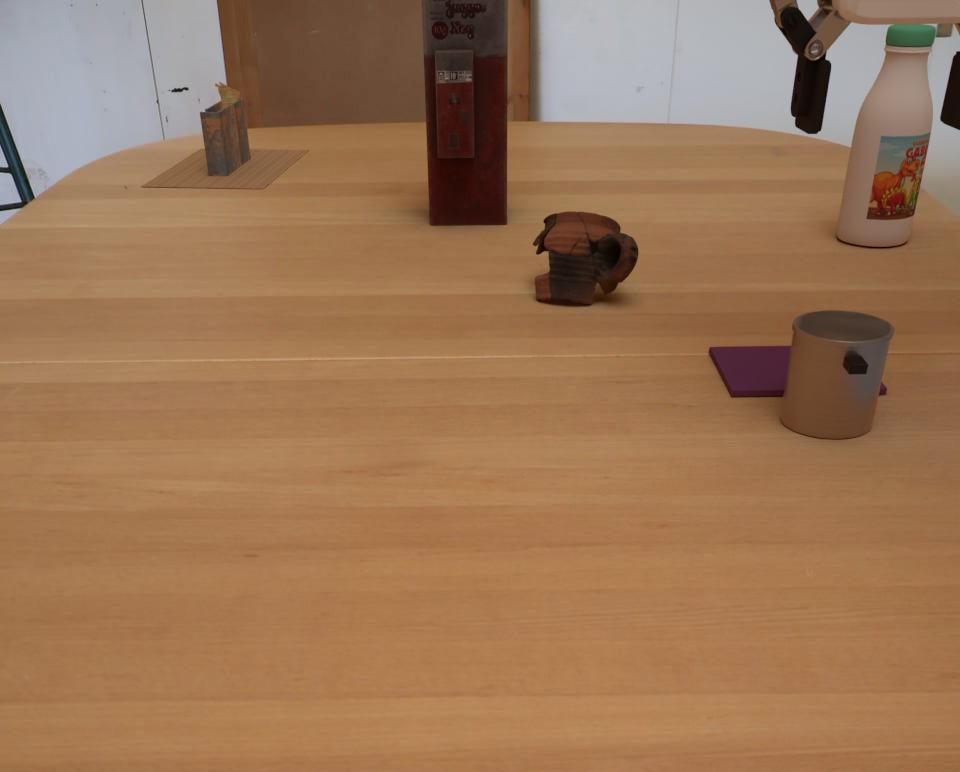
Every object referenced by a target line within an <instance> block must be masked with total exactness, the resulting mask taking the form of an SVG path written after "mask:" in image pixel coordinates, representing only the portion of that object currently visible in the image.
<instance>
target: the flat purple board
mask: <svg viewBox="0 0 960 772" xmlns="http://www.w3.org/2000/svg"><path fill="white" fill-rule="evenodd" d="M708 347H709V349H708V353H709V355H710V358H711V359H712V361H713V363H714V365H715V367H716V369H717V372H718V373H719V375H720V377H721V379H722V381H723V383H724V385H725V387H726V389H727V390H728V392H729V394H730V396H731V397H732V398H733V397H734V398H737V397H738V398H739V397H783V395H784V388H785V382H786V376H787V369H788V363H789V357H790V350H791V345H743V346H742V345H739V346H738V345H737V346H734V345H733V346H708ZM887 392H888V387H887V386H886V385H885V383H884V382H883V381H882V382H881V386H880V391H879V395H887Z"/></svg>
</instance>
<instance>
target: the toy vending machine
mask: <svg viewBox="0 0 960 772" xmlns="http://www.w3.org/2000/svg"><path fill="white" fill-rule="evenodd" d="M421 12H422V13H421V16H422V19H421V20H422V21H421V22H422V42H423V43H422V44H423V45H422V46H423V72H424V102H425V105H424V106H425V129H426V130H425V131H426V134H425V135H426V157H427V158H426V159H427V161H426V162H427V184H428V185H427V187H428V213H429V214H428V215H429V226H478V225H479V226H493V225H494V226H497V225H501V226H503V225H508V77H509V76H508V70H509V69H508V68H509V67H508V65H509V64H508V61H509V59H508V58H509V57H508V55H509V54H508V53H509V52H508V51H509V50H508V47H509V46H508V45H509V43H508V41H509V40H508V38H509V32H508V31H509V30H508V28H509V26H508V25H509V0H421Z"/></svg>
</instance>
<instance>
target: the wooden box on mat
mask: <svg viewBox="0 0 960 772" xmlns="http://www.w3.org/2000/svg"><path fill="white" fill-rule="evenodd" d="M218 83H219V84H218ZM218 83H214V86H215V88H217V91H218V94H219V97H220V100H219V101H218V102H216V103H215V104H213V105H211V106H209V107H207V108H205V109H204V111H199V115H200V116H199V117H200V124H201V131H202V132H201V133H202V140H203V144H204V148H200V149H198V150H196V151H195V152H193V153H192V154H190V155H189V156H187V157H186V158H184V159H182V160H181V161H179V162H177V164H176V163H175V164H174V165H173V166H171V167H170V168H168V169H166V170H165V171H164V172H162V173H160V174H159V175H157V176H155V177H154V178H152V179H151V180H150V181H147V182H145V184H143V185H141V187H142V188H185V189H186V188H187V189H188V188H192V189H193V188H194V189H243V190H244V189H245V190H246V189H247V190H248V189H249V190H253V189H254V190H264V189H265V188H266V187H267V186H269V185H270V184H271V183H272V182H273V181H275V180H276V179H277V178H278V177H279V176H280V175H281V174H283V173H284V172H285V171H286V170H288V169H289V168H290V167H291V166H292V165H294V163H296V162H297V161H298V160H299V159H301V157H303V156H304V155H305V154H306V153H308V152H309V149H259V148H258V149H256V148H255V149H254V148H252V149H251V148H250V143H249V142H250V141H249V133H248V132H249V131H248V125H247V117H246V107H245V99H244V97H241V91H239V90H236V89H234V88H232V87H230V86H228V85H226V84H225V83H223V82H221V81H219V82H218Z"/></svg>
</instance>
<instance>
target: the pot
mask: <svg viewBox="0 0 960 772" xmlns="http://www.w3.org/2000/svg"><path fill="white" fill-rule="evenodd" d="M791 329H792V331H793V332H792V338H791V344H790V346H791V350H790V357H789V363H788V369H787V376H786V382H785V388H784V395H783V396H782V403H781V409H780V415H779V419H780V422H781V423H782V424H783V425H784V426H785V427H786V428H787V429H789V430H790V431H793V432H796V433H798V434H801V435H805V436H808V437H813V438H817V439H828V440H842V439H843V440H845V439H851V438H856V437H861V436H863V435H865V434H867V433H868V432H870V431H871V429H872V428H873V424H874V420H875V419H874V418H875V415H876V409H877V406H878V405H877V404H878V401H879V396H880V394H879V391H880V386H881V382H882V383H883V377H884V371H885V368H886V367H885V366H886V363H887V357H888V353H889V348H890V343H891V341H892V340H893V338H894V335H895V327H894V325H893V324H892V323H891V322H889V321H887V320H886V319H884V318H882V317H879V316H877V315H874V314H873V315H872V314H869V313H864V312H859V311H852V310H840V309H838V310H837V309H833V310H832V309H830V310H829V309H828V310H827V309H826V310H816V311H810V312H806V313H803V314H800V315H797V316H796V317H795V318H794V319H793V321H792V325H791Z"/></svg>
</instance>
